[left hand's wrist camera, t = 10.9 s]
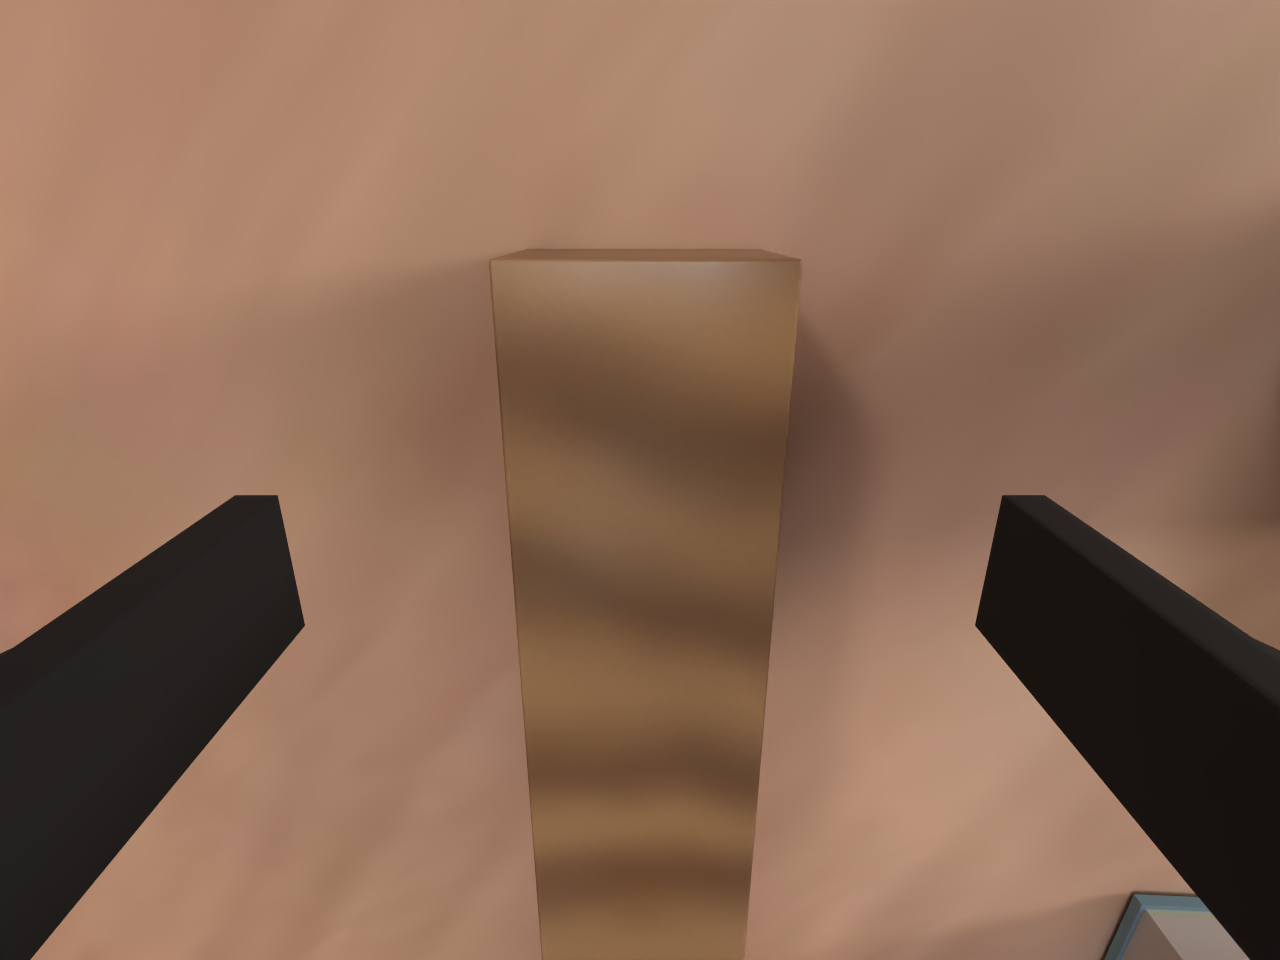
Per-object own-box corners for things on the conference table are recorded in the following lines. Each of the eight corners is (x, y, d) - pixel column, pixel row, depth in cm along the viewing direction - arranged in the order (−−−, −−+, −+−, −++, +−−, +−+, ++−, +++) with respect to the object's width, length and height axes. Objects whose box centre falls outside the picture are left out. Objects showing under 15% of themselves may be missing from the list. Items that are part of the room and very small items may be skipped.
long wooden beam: (525, 249, 28) (488, 259, 21) (763, 249, 28) (803, 259, 21) (579, 1195, 54) (570, 1339, 47) (703, 1195, 54) (712, 1339, 47)
